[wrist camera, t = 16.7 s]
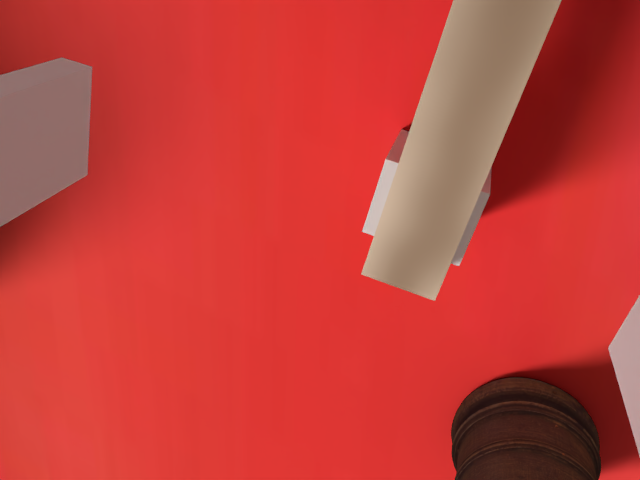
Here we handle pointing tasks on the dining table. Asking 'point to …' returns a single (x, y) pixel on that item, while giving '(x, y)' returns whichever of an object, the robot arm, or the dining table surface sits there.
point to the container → (524, 434)
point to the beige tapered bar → (455, 137)
